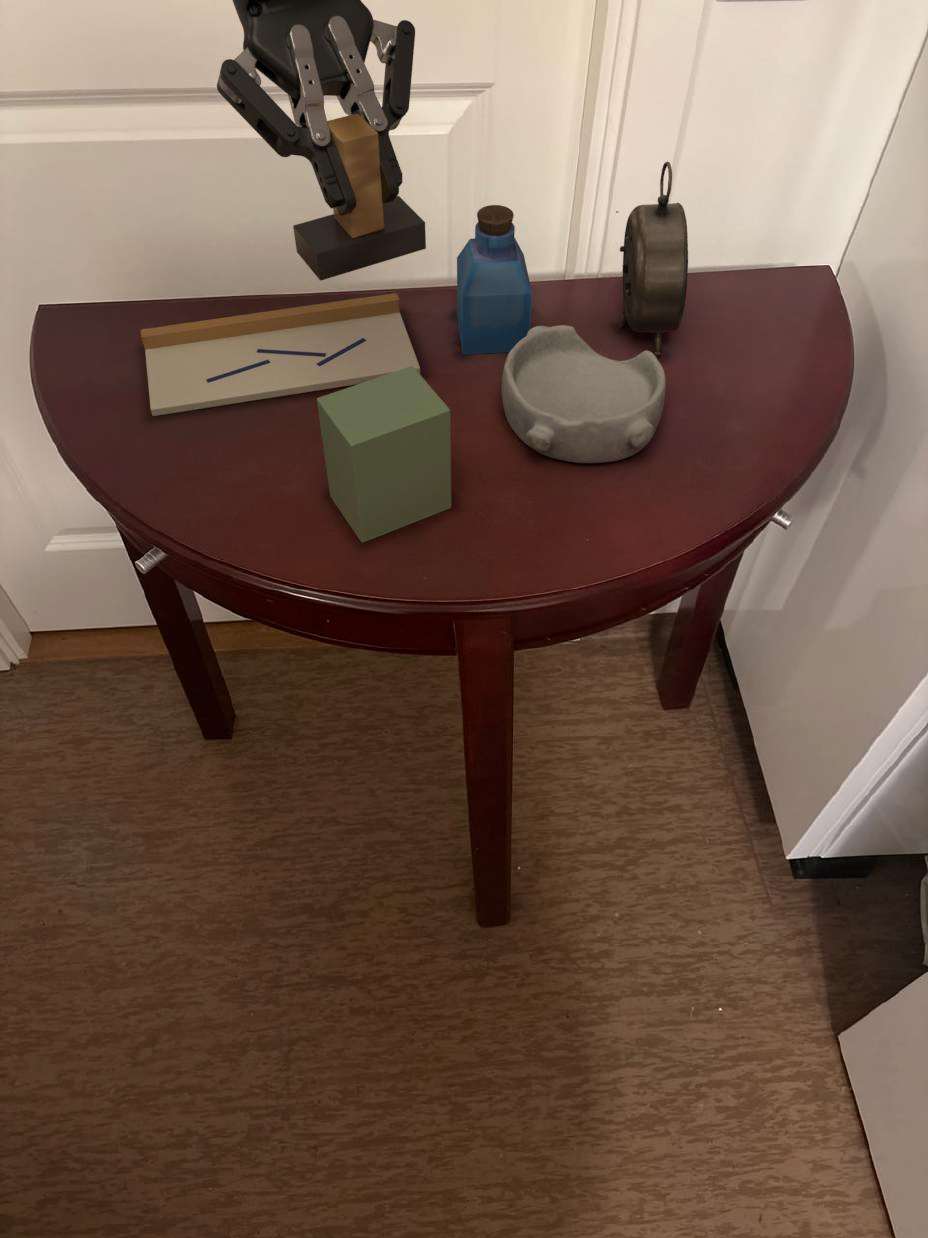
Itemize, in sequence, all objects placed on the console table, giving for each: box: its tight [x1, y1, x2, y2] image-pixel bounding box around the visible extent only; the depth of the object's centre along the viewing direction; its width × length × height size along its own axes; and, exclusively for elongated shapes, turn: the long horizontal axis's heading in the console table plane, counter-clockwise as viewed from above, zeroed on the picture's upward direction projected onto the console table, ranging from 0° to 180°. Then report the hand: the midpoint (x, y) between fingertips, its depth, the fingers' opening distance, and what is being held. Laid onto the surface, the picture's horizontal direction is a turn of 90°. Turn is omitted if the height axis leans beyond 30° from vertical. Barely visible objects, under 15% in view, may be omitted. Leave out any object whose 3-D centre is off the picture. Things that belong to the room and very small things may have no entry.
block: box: [316, 366, 452, 544], centre depth 78 cm, size 8×6×10 cm
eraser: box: [292, 114, 427, 282], centre depth 66 cm, size 8×4×8 cm, turn 119°
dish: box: [501, 324, 667, 464], centre depth 86 cm, size 14×14×5 cm
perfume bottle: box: [456, 204, 533, 356], centre depth 91 cm, size 6×6×12 cm
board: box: [140, 292, 421, 417], centre depth 92 cm, size 24×10×2 cm, turn 104°
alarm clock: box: [617, 161, 689, 358], centre depth 90 cm, size 11×5×16 cm, turn 179°
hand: (370, 203), depth 65 cm, fingers closed on eraser, 2 cm apart
